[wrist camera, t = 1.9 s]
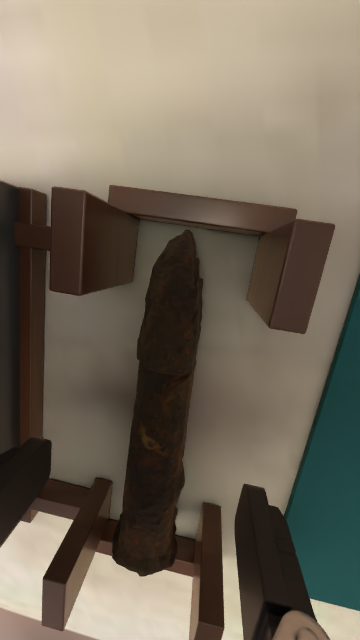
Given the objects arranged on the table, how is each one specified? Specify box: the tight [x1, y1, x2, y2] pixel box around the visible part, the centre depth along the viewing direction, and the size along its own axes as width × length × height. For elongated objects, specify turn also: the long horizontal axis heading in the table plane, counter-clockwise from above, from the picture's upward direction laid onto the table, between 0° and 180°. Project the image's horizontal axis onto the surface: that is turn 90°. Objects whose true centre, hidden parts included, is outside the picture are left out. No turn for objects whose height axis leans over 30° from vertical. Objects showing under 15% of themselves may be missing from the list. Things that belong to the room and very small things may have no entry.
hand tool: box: [112, 230, 203, 576], centre depth 14 cm, size 19×4×5 cm, turn 170°
